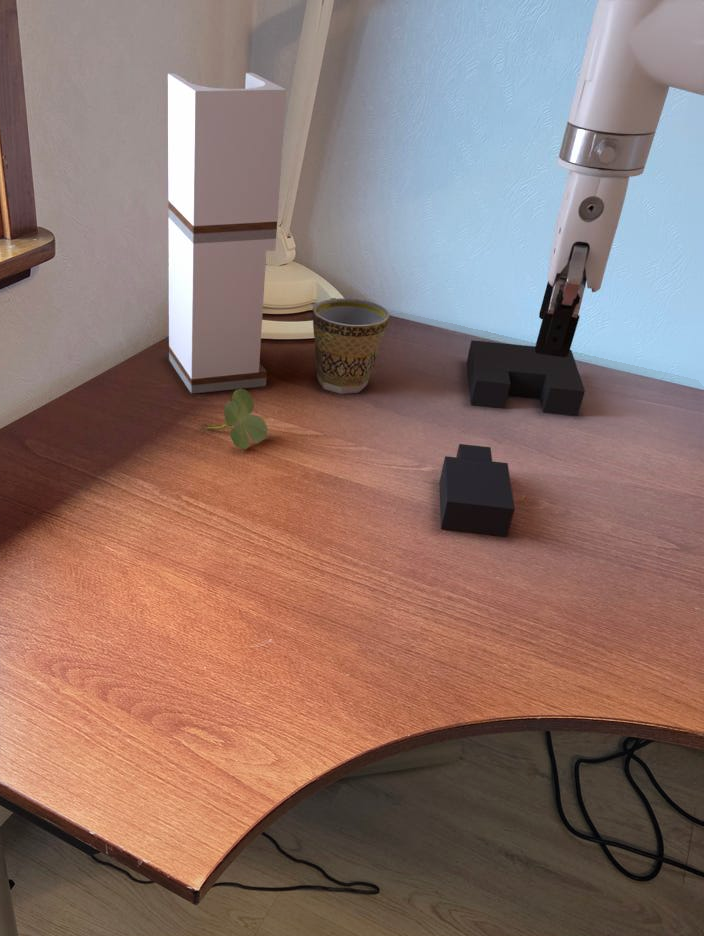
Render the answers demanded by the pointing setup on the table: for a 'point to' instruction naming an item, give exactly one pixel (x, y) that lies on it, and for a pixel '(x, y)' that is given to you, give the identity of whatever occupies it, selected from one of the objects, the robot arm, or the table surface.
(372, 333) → the ceramic cup
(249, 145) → the tall square vase
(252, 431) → the green clover leaf
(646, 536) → the table surface
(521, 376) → the notch pad
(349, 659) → the table surface
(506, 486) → the pad
